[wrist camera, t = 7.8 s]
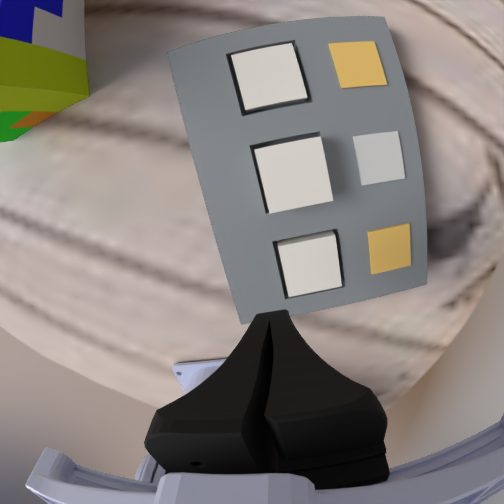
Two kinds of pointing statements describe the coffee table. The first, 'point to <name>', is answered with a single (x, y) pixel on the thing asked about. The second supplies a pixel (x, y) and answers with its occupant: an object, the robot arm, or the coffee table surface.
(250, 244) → the button board
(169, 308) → the coffee table surface
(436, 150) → the coffee table surface
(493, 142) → the coffee table surface
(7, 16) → the puzzle toy
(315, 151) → the button middle
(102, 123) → the coffee table surface
